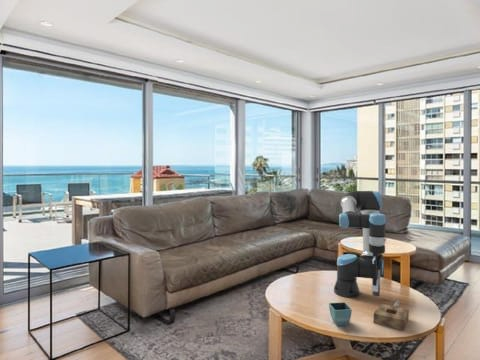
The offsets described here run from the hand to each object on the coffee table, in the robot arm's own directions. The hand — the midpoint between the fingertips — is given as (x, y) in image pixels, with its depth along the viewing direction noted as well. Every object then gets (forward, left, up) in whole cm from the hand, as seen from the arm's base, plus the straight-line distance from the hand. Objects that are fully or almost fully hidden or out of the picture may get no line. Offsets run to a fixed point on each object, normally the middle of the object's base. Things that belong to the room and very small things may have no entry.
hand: (376, 289), depth 168 cm
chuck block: (+6, +11, -17) cm, 21 cm away
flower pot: (-14, -12, -17) cm, 25 cm away
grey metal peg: (0, 0, -3) cm, 3 cm away
